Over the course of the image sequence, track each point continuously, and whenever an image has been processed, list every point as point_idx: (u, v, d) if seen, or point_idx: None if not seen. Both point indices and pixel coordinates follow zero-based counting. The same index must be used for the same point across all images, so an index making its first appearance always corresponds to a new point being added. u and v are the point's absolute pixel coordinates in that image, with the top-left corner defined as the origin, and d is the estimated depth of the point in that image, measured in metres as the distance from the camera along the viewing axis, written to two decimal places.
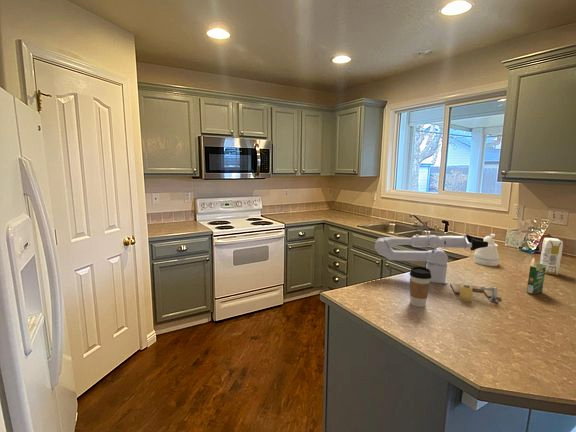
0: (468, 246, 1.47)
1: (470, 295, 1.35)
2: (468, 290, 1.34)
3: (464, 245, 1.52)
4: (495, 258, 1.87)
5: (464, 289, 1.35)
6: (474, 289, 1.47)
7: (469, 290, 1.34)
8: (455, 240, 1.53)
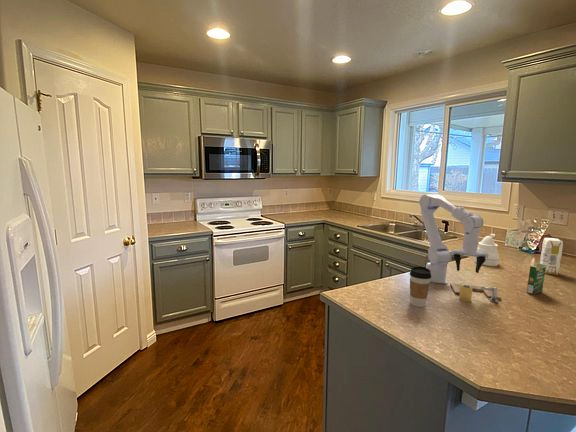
0: (451, 250, 1.46)
1: (470, 295, 1.35)
2: (468, 290, 1.34)
3: (462, 250, 1.45)
4: (495, 258, 1.87)
5: (464, 289, 1.35)
6: (474, 289, 1.47)
7: (469, 290, 1.34)
8: (464, 242, 1.42)
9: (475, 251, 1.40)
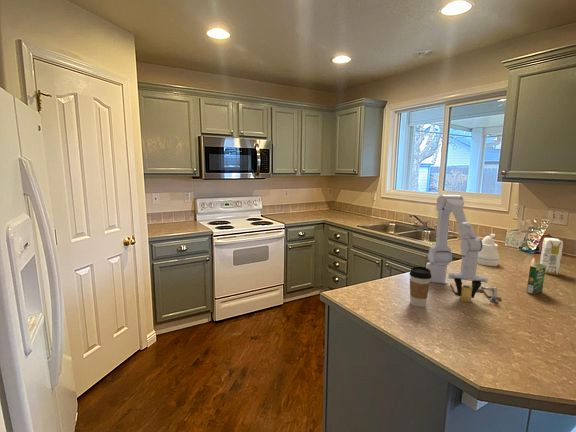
0: None
1: (470, 295, 1.35)
2: (468, 290, 1.34)
3: (460, 273, 1.37)
4: (495, 258, 1.87)
5: (464, 289, 1.35)
6: None
7: (469, 290, 1.34)
8: (462, 266, 1.34)
9: (474, 276, 1.33)
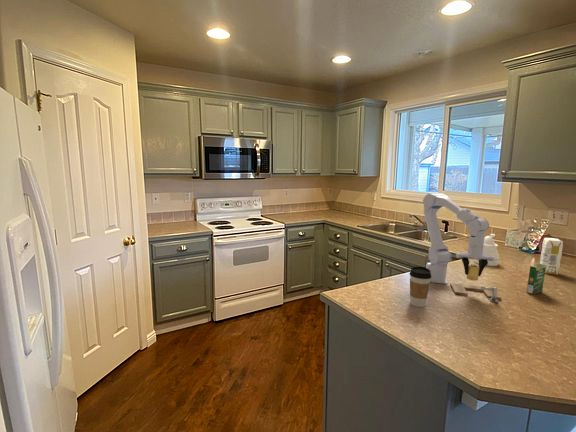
0: (456, 253, 1.44)
1: (477, 274, 1.41)
2: (475, 269, 1.40)
3: (467, 253, 1.43)
4: (495, 258, 1.87)
5: (471, 268, 1.41)
6: (474, 289, 1.47)
7: (476, 269, 1.40)
8: (470, 246, 1.41)
9: (480, 254, 1.39)
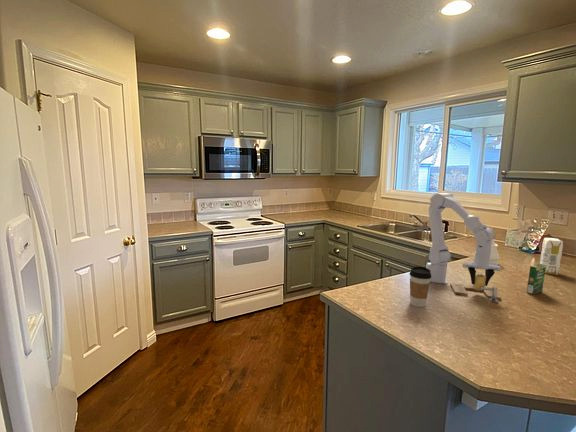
0: None
1: (484, 283, 1.41)
2: (482, 279, 1.40)
3: (474, 262, 1.43)
4: (495, 258, 1.87)
5: (478, 278, 1.41)
6: (474, 289, 1.47)
7: (483, 279, 1.40)
8: (476, 255, 1.40)
9: (487, 264, 1.39)
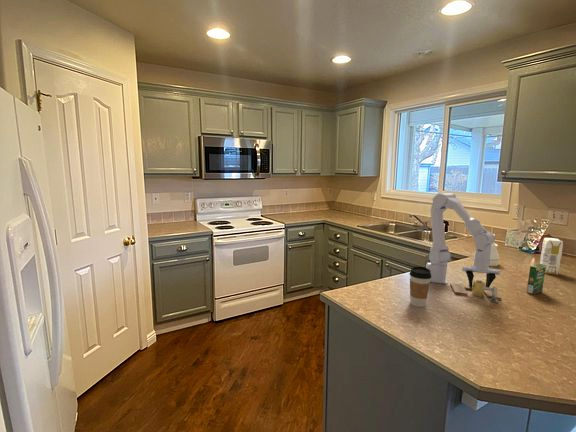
0: (462, 267, 1.44)
1: (483, 290, 1.41)
2: (481, 285, 1.41)
3: (473, 266, 1.44)
4: (495, 258, 1.87)
5: (477, 284, 1.41)
6: None
7: (482, 285, 1.41)
8: (476, 259, 1.41)
9: (487, 268, 1.39)
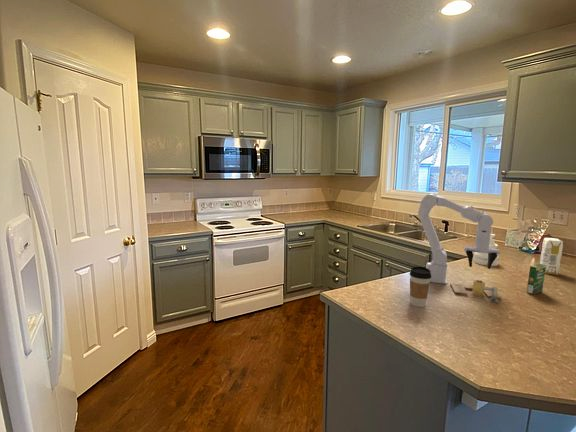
0: (464, 247, 1.52)
1: (483, 290, 1.41)
2: (481, 285, 1.41)
3: None
4: None
5: (477, 284, 1.41)
6: None
7: (482, 285, 1.40)
8: (477, 240, 1.48)
9: (487, 248, 1.47)
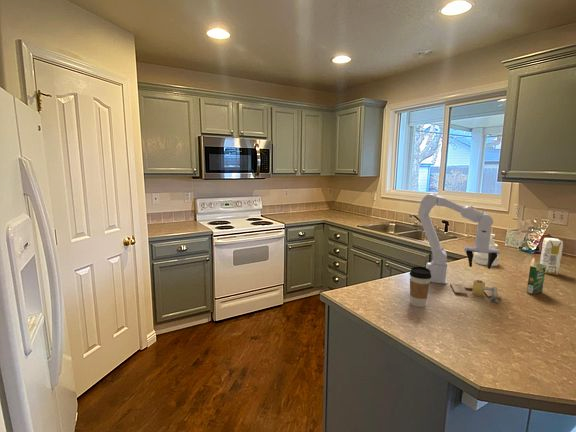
0: (464, 247, 1.52)
1: (483, 290, 1.41)
2: (481, 285, 1.41)
3: None
4: None
5: (477, 284, 1.41)
6: None
7: (482, 285, 1.40)
8: (477, 240, 1.48)
9: (487, 248, 1.47)
